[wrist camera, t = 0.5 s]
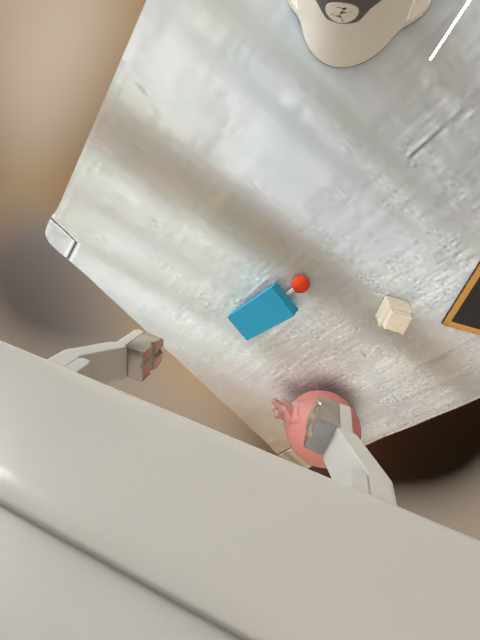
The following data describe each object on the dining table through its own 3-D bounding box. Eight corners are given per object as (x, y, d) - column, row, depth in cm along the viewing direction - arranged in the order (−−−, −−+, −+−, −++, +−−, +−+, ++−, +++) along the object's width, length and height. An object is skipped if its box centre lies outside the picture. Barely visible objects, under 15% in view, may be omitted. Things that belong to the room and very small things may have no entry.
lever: (260, 323, 66) (320, 290, 53) (246, 340, 61) (309, 307, 49) (242, 302, 65) (299, 262, 53) (227, 317, 60) (286, 277, 48)
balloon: (301, 351, 61) (293, 395, 47) (373, 405, 61) (384, 464, 47) (263, 390, 68) (246, 437, 55) (326, 437, 68) (325, 496, 55)
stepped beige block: (385, 294, 51) (392, 308, 45) (406, 300, 50) (416, 315, 44) (375, 315, 53) (380, 331, 47) (395, 321, 52) (403, 338, 46)
